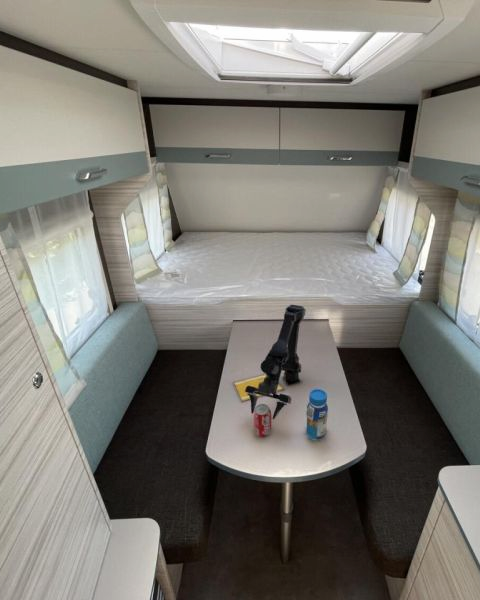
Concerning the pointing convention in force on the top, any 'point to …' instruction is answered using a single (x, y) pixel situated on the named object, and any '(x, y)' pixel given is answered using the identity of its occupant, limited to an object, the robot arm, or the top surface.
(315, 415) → the beverage bottle
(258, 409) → the soda can
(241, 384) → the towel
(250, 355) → the top surface
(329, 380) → the top surface
